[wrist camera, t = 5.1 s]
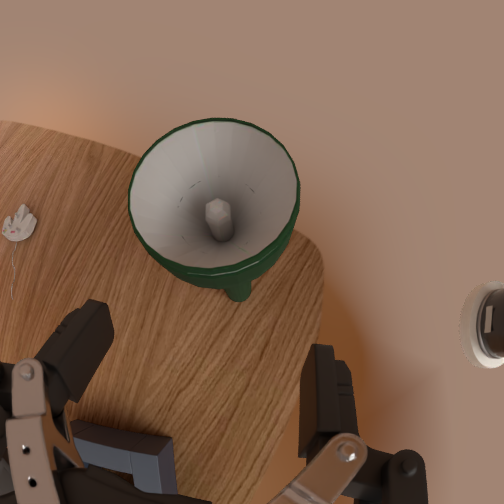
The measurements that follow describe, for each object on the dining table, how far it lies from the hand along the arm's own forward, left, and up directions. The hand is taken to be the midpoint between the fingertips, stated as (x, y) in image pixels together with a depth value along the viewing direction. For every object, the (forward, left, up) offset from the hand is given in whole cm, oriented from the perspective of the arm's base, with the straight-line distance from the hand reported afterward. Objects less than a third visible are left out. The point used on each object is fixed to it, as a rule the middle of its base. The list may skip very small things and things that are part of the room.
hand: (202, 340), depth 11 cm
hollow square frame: (+11, +16, -16) cm, 25 cm away
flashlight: (-1, -4, -16) cm, 17 cm away
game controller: (+27, -8, -16) cm, 33 cm away
